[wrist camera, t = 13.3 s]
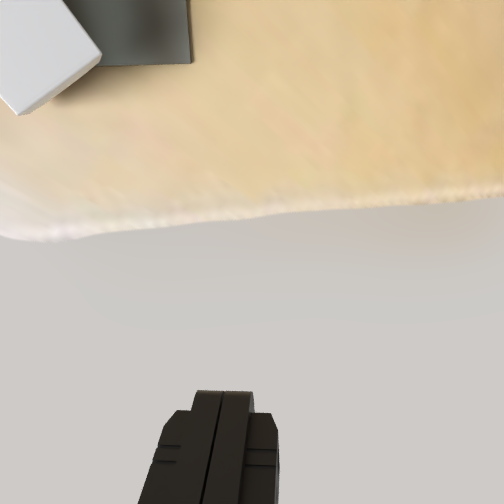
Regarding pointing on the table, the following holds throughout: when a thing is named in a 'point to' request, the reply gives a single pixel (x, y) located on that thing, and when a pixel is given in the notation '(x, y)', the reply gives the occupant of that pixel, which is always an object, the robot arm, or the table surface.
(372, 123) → the table surface
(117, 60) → the tray
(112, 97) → the table surface
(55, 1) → the milk carton
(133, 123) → the table surface
